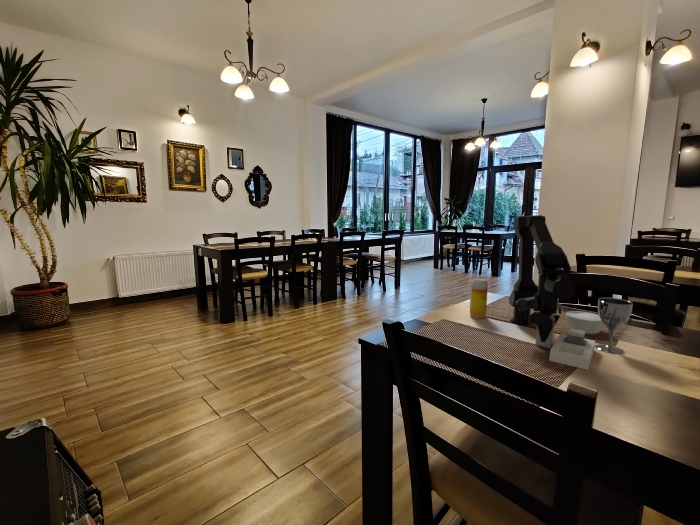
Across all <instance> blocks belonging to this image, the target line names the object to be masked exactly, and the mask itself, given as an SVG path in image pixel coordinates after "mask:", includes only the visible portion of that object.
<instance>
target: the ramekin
mask: <svg viewBox="0 0 700 525" xmlns="http://www.w3.org/2000/svg"><path fill="white" fill-rule="evenodd" d="M565 316H566V326H567V328H568V329H569V328H572V329H577V330H583V331H585V335H586V334H587V335H597V334H599V333H601V331H602V328H603V326H604V325H603V324H604V323H603V321H602V320H601V319H600V317H599V314H598V313H597V314H596V313H593V312H587V311H579V310H575V311H574V310H570V311H566V312H565ZM596 333H597V334H596Z"/></svg>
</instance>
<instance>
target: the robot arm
mask: <svg viewBox="0 0 700 525" xmlns="http://www.w3.org/2000/svg"><path fill="white" fill-rule="evenodd" d="M513 229H514V234H515V235H516V237H517V239H518V240H519V250H518V278H517V280H516V282H515V283H514V285H513V289H512V290H511V293H510V295H509V297H508V304H509V305H510V306H511V307H513V315H512V317H511V319H510V322H511V323H516V324H517V323H518V324H521V325H522V324H523V325H527V326H530V324H533V325H535V326H536V327H537V326H538V330H539V335H540V339H541V342H545V341H546V339H547V338H548V336H549V334H550V332H551V331H552V329H553V327H554V328H555V326H556V325H557V323H558V321H559V320H560V318H561V315H562V314H563V310H564V306H563V305H562V304H561V303H559V301H560V300H562V301H564V300H566V301H567V300H569V299H571V298H572V297H573V296H574V295H575V293H576V286H575V285H574V283H573V282H572V281H571V280H569V276H571V274H572V273H571V271H572V267H571V265H570V262H569V258H568V256H567V255H566V253H565V251H564V250H563V248H562V247H561V246H560V245H558V244H556V243H555V242H554V239H553V238H552V235H551V233H550V230H549V228H548V225H547V223H546V217H545V215H542V214H540V215H536V214H535V215H532V214H531V215H518V216H517V218H514V221H513ZM535 246H536V249H537V252H536V255H535V259H534V251H535V250H534V249H535ZM534 261H535V265H536V269H537V270H538V272H537V274H538V280H537V281H538V282H537V284H538V285H537V284H536V283H535V280H534ZM532 310H533V312H532ZM531 312H532V313H531ZM557 313H558V314H559V315H558V314H557Z"/></svg>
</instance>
